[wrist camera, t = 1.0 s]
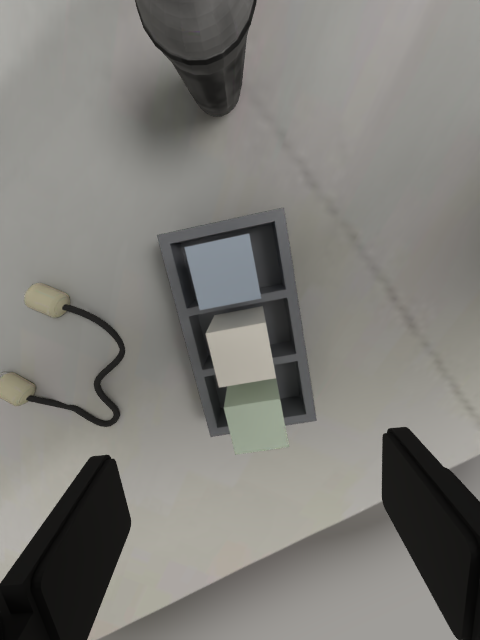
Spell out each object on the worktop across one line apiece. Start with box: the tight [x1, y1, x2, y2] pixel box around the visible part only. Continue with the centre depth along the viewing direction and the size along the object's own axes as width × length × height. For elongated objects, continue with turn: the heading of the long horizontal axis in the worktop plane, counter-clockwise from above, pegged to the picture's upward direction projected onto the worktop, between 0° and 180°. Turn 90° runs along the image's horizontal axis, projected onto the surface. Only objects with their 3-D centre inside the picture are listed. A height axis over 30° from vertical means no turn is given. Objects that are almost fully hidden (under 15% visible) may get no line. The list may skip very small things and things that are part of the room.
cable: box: [0, 283, 125, 427], centre depth 35 cm, size 16×16×4 cm
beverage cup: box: [135, 0, 256, 116], centre depth 18 cm, size 7×7×20 cm
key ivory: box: [206, 306, 276, 388], centre depth 27 cm, size 5×5×6 cm
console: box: [157, 208, 317, 437], centre depth 32 cm, size 12×22×5 cm, turn 11°
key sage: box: [224, 374, 289, 455], centre depth 29 cm, size 5×5×6 cm
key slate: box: [184, 234, 261, 310], centre depth 25 cm, size 5×5×6 cm
